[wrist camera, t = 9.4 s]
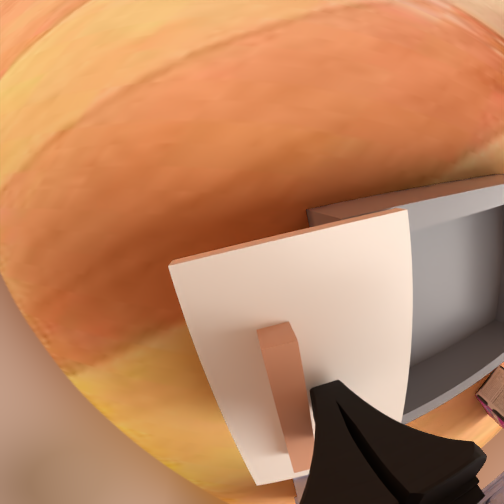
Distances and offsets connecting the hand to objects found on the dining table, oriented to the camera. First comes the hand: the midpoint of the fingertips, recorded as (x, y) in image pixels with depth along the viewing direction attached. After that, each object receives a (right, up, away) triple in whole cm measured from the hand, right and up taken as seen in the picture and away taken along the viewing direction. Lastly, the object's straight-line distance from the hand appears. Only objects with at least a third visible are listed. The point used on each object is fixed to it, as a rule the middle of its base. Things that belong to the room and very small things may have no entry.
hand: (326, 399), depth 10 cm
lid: (0, 0, +1) cm, 1 cm away
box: (+10, +4, +7) cm, 13 cm away
